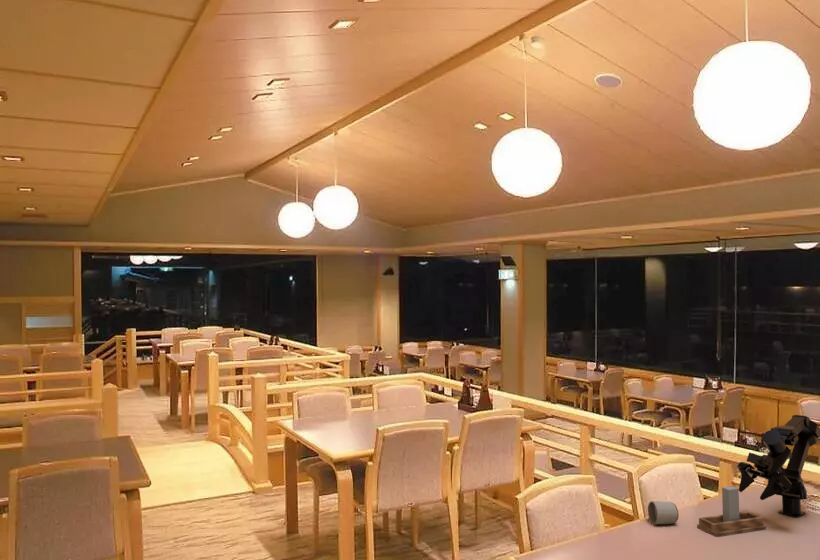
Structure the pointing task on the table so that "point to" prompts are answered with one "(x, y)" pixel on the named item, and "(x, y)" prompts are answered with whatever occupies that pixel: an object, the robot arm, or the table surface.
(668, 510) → the ceramic mug
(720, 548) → the table surface
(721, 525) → the open rectangular wooden box
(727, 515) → the tall grey pillar block
